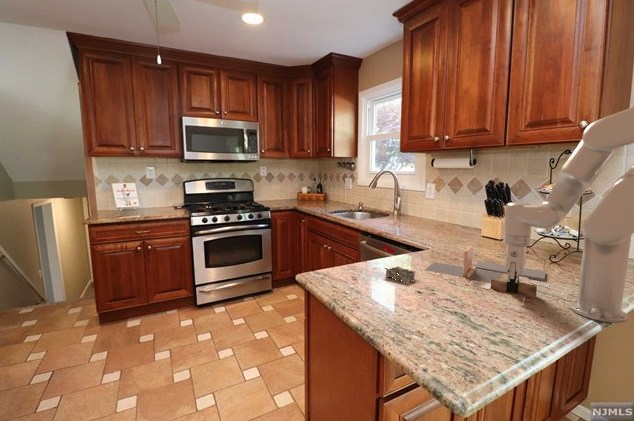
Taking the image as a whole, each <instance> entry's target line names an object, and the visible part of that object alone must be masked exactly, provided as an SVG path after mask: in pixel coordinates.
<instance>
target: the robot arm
mask: <svg viewBox="0 0 634 421" xmlns="http://www.w3.org/2000/svg"><path fill="white" fill-rule="evenodd" d="M631 144H634V106H632V107H629V108H627V109H624V110H621V111H618V112H616V113H614V114H610V115H607V116H606V117H602V118H599V119H598V120H595V121H593V122H591V123H590V124H588V126H587V127H586V128H585V129H584V130H583V133H582V139H581V140H580V141H579V143H578V144H577V146H576V148H575V149H574V150H573V152H572V153H571V155H570V156H569V158H568V159H567V160H566V161H565V163H564V164H563V165H562V167H561V168H560V170H559V172H558V177H557V180H556V182H555V184H554V186H553V188H552V189H551V191H550V192H549V193H548V195H547V197H545V198H544V201H543V202H542V203H541V204H536V205H535V204H534V205H533V204H531V203H528V202H522V201H521V202H520V201H519V202H518V201H517V202H516V201H514V202H513V201H512V202H508V203H507V204H506V206H505V213H504V227H503V228H504V229H503V240H502V243H503V244H505V245H506V255H505V256H506V257H505V265H506V273H507V274H506V273H505V274H506V275H507V280H508V281H507V290H506V291H505V292H506V293H511V294H515V295H518V282H520V280H519V279H520V277H523V276H522V275H523V274H524V271H525V268H526V258H527V256H526V254H527V247H529V246H531V245H530V244H531V234H532V227H534V228H538V229H544V230H548V229H552V228H555V227H557V226H558V225H560V223H561V222H563V221H564V220H565V218H566V217H567V215H568V214H569V213H570V211H571V210H572V209H573V208H574V207H575V205H576V204H577V202H578V201H579V200H580V198H581V197H582V196H583V195H584V194H585V192H586V191H587V190H588V189H589V188H590V187H591V186H592V185H593V184H594V182H595V181H596V180H597V179H598V177H599V176H600V174H601V173H602V172H603V170H604V169H605V167H607V165H608V164H609V163H610V161H611V160H612V159H613V158H614V157H615V155H616V154H617V153H618V151H619V150H620V149H621V148H622V147H625V146H628V145H631ZM582 230H583V232H584V240H583V248H582V256H581V263H580V264H581V265H580V273H579V283H578V291H577V292H578V293H577V299H576V300H573V301H571V302H570V303H569V308H570V309H571V310H572V311H573V312H574V313H576V314H578V315H580V316H583V317H585V318H588V319H591V320H595V321H599V322H603V323H610V324H611V323H612V324H622V323H623V324H624V323H625V322H626V323H627V322H628V320H629V314H627V313H626V312H625V311H624V310H622V306H623V299H624V293H625V286H626V284H625V283H626V277H627V271H628V270H627V268H628V263H629V256H630V248H631V241H632V240H631V239H632V235H633V234H634V163H633V164H632V165H631V167H629V168H628V169H627V171H626V172H625V173H624V174H623V175H621V176H620V177H618V178H617V179H616V181H615V182H614V183H613V184H612V186H611V187H610V188H609V189H608V191H607V192H605V194H604V196H602V198H601V199H600V200H599V201H598V202H597V204H596V205H595V207H593V209H592V210H591V211H590V212H589V213H588V214H587V215H586V217H585V219H584V220H583V224H582ZM519 275H520V276H519Z"/></svg>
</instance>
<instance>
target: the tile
mask: <svg viewBox="0 0 634 421" xmlns="http://www.w3.org/2000/svg"><path fill="white" fill-rule="evenodd" d="M473 251H474V246H473V245H469V246H468V247H467V248H466V249H464V251H463V261H462V262H463V266H462V267H463V276H467V273H468V272H469V271H470V270H471V269H472V267H473V254H474V253H473Z"/></svg>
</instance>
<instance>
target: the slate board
mask: <svg viewBox="0 0 634 421" xmlns="http://www.w3.org/2000/svg"><path fill="white" fill-rule="evenodd" d="M473 267H476V269H477V270H483V271H489V272H495V273H500V274H506V275H508V274H507V273H506V264H501V263H493V262H488V261H484V260H483V261H481V260H478V261H477V263H476V264H475V265H474V266H473ZM519 277H526V278H528V279H530V280H535V281H542V282H545V281H546V271H544V270H538V269H534V268H533V269H531V268H526V267H525V271H524V274H523V275H522V276H520V275H519Z"/></svg>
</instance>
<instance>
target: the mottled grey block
mask: <svg viewBox="0 0 634 421" xmlns="http://www.w3.org/2000/svg"><path fill="white" fill-rule="evenodd" d="M384 269H385V270H386V271H385V276H387V277H393V278H394V279H396V280H397V281H399V280H402V282H409V283H410V280H415V274H416V272H417V270H409V269H406V268H402V267H400V266H395V267H392V266H391V267H390V268H387V267H384ZM395 273H398V274H399V275H398V274H397V275H396V274H395ZM387 277H386V278H387ZM393 278H392V279H393ZM394 279H393V280H394ZM396 280H395V281H396ZM402 282H401V283H402Z"/></svg>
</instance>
